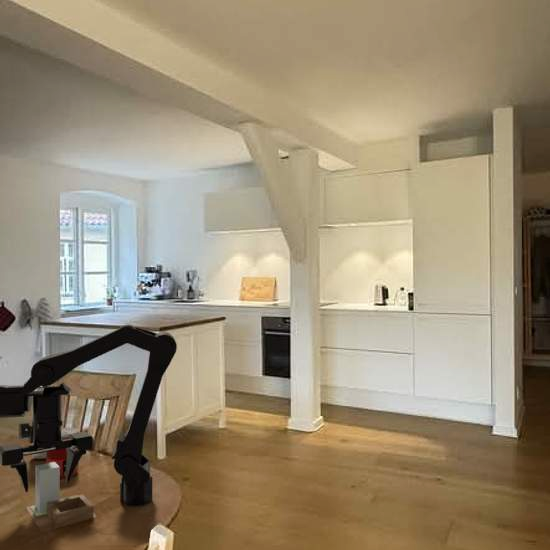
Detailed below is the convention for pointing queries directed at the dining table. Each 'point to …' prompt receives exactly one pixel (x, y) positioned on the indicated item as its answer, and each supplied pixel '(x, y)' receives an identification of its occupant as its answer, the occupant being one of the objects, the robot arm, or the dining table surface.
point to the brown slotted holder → (63, 512)
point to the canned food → (61, 453)
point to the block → (46, 485)
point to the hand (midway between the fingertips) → (47, 487)
